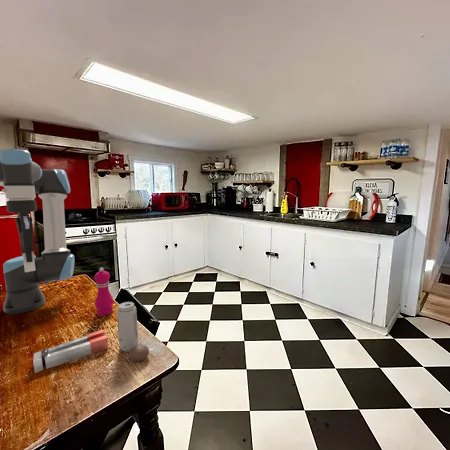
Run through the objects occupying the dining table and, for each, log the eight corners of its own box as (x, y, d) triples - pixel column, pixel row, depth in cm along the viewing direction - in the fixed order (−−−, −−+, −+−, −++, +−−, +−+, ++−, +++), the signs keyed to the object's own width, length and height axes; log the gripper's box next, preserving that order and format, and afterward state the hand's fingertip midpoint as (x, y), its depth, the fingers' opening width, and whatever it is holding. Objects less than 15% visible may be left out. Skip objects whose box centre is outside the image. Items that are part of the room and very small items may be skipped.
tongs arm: (50, 362, 78) (48, 350, 78) (49, 358, 80) (48, 347, 79) (105, 341, 88) (104, 331, 88) (103, 339, 90) (102, 329, 89)
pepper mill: (107, 316, 106) (103, 270, 103) (92, 315, 107) (87, 270, 105) (117, 308, 113) (114, 265, 110) (103, 307, 114) (99, 264, 112)
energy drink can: (120, 343, 87) (117, 302, 85) (138, 340, 89) (136, 299, 87) (118, 354, 82) (115, 310, 80) (138, 350, 83) (135, 307, 81)
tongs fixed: (34, 373, 74) (32, 359, 73) (35, 363, 78) (33, 350, 77) (108, 348, 85) (107, 335, 84) (105, 341, 89) (104, 329, 88)
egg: (125, 360, 79) (124, 348, 78) (141, 350, 84) (140, 339, 83) (137, 367, 75) (136, 355, 75) (153, 357, 80) (152, 345, 80)
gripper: (3, 199, 82) (13, 269, 86) (7, 200, 73) (18, 278, 77) (32, 198, 88) (40, 264, 91) (39, 199, 79) (47, 272, 82)
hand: (30, 270), depth 84 cm, fingers closed
